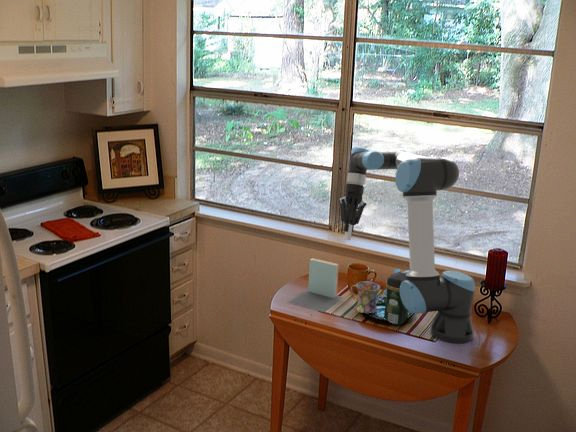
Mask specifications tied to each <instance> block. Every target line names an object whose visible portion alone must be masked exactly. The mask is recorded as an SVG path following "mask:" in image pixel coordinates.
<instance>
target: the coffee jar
mask: <svg viewBox="0 0 576 432" xmlns="http://www.w3.org/2000/svg"><path fill="white" fill-rule="evenodd" d="M403 272H404V271H400V272H397V273H394V272H393V273H392V274H390V275H389V276H388V277H387V278H386V282H387V284H386V290H387V292H386V293H387V295H386V296H385V297H386V298H385V304H384V310H383V311H384V312H383V319H384V318H385V319H386V320H388V321H389V322H390V323H392V324H391V325H397V326H399V325H402V324H404V323H405V322H406V321H407V319H408V314H409V311H408V310H407V309H406V308H405V306H404V305H403V303H402V300H401V297H400V286H401V283H402V282H403V281H405V280H406V274H407V273H403ZM390 323H389V324H390Z"/></svg>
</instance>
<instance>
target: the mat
mask: <svg viewBox="0 0 576 432" xmlns="http://www.w3.org/2000/svg"><path fill="white" fill-rule="evenodd" d="M344 298H345V297H344V296H341V295H337V296H336V297H335V298H331V297H328V296H324V295H320V294H316V293H312V292H308V288H307V289H305V291H303V292H302V293H300V294H299V295H297V296H295V297H294V298H292V299H291V300H289V301H288V302H287V303H288V304H291V305H296V306H299V307H302V308H306V309H311V310H313V311H317V312H321V313H326V312H328V310H329V309H331V308H332V307H333V306H335V305H336V304H338V303H339V302H340V301H342V299H344Z"/></svg>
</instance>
